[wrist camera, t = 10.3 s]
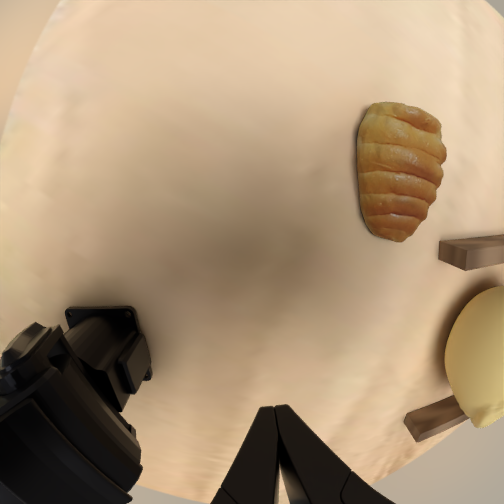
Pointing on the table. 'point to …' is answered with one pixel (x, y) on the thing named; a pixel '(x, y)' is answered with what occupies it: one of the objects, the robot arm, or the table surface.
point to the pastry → (398, 168)
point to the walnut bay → (466, 258)
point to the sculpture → (478, 358)
